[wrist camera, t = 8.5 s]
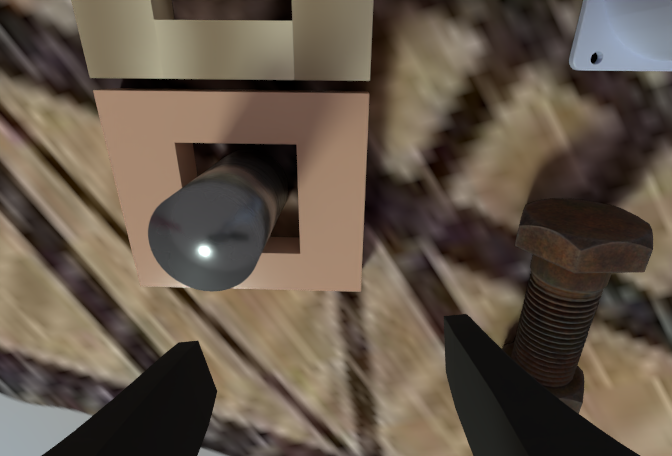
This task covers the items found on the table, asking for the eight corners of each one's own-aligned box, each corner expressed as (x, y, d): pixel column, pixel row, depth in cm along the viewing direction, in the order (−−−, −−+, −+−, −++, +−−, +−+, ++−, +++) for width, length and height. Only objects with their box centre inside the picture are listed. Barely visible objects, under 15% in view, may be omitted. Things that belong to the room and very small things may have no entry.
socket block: (367, 91, 17) (369, 93, 16) (359, 272, 21) (360, 291, 20) (119, 88, 18) (93, 90, 16) (158, 267, 22) (140, 286, 20)
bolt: (490, 380, 27) (530, 189, 21) (569, 410, 25) (643, 204, 18) (472, 446, 23) (516, 229, 16) (566, 491, 20) (662, 256, 14)
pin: (286, 149, 19) (254, 191, 12) (290, 221, 20) (263, 292, 14) (209, 148, 19) (137, 190, 12) (218, 220, 20) (159, 290, 14)
